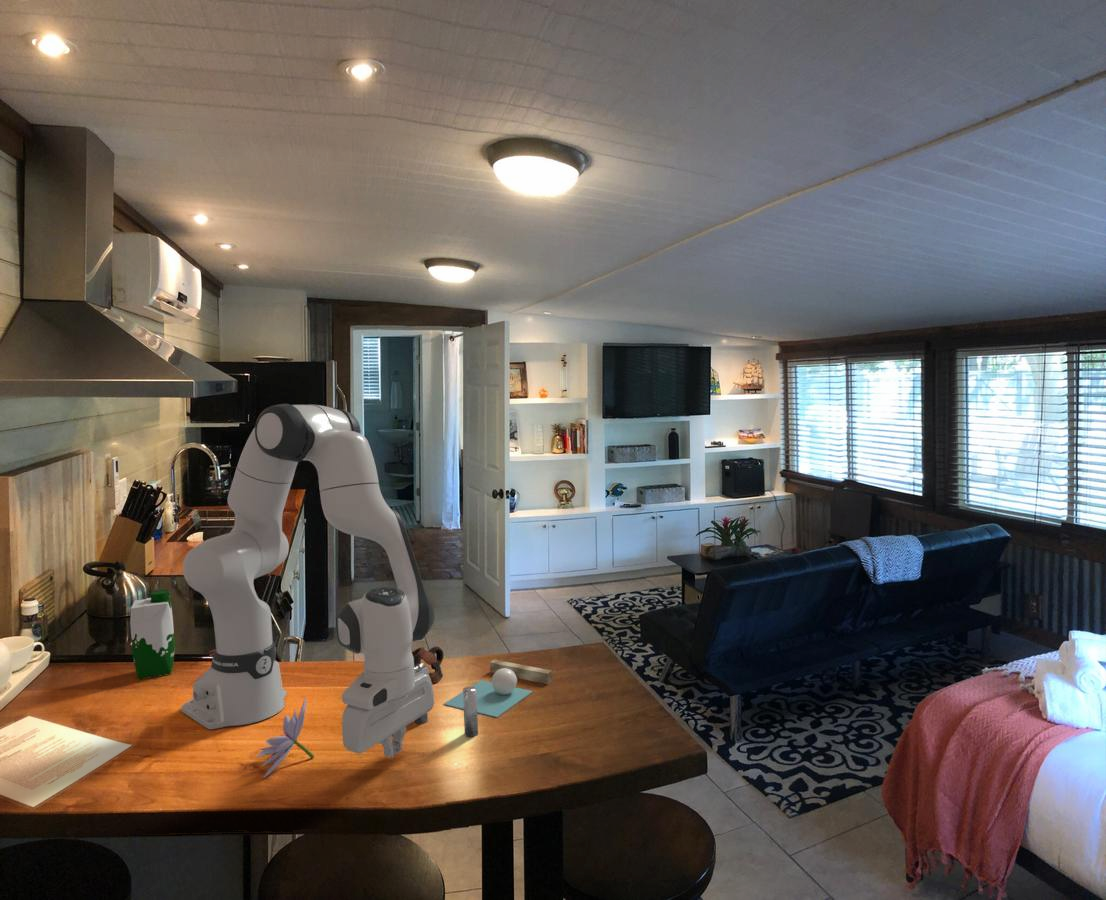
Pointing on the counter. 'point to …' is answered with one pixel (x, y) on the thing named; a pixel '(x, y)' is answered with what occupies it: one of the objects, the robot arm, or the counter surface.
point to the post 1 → (422, 719)
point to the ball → (504, 681)
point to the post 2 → (470, 711)
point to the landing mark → (491, 699)
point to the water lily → (285, 740)
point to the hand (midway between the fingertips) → (393, 753)
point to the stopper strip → (523, 671)
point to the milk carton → (152, 635)
